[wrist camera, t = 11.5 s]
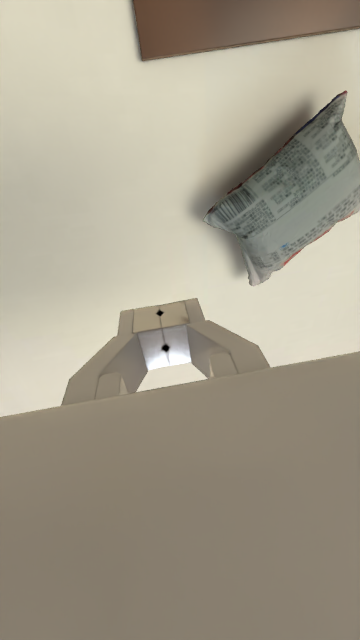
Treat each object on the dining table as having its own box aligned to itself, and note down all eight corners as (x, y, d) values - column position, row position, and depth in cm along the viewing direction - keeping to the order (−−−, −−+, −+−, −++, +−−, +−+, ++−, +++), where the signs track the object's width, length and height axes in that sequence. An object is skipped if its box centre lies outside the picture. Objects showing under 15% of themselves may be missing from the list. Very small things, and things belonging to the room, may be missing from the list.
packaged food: (358, 195, 22) (406, 206, 18) (245, 278, 25) (263, 303, 21) (324, 91, 18) (376, 75, 14) (193, 209, 21) (204, 224, 17)
